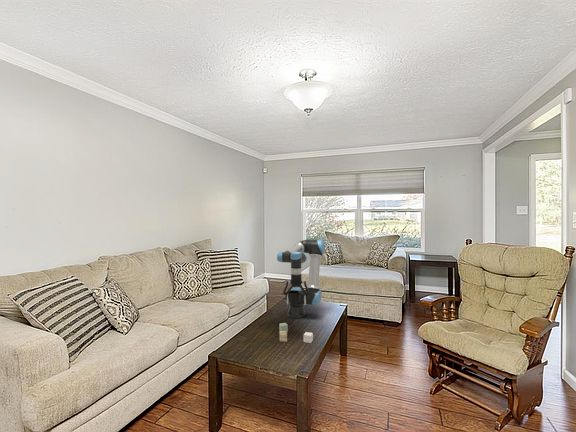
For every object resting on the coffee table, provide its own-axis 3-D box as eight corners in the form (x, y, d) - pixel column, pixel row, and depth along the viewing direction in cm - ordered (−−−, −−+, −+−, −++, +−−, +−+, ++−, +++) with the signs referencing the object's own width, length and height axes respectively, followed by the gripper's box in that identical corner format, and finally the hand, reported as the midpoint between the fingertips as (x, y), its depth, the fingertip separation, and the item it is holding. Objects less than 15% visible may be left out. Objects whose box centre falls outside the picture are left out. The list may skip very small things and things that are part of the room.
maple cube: (279, 338, 205) (279, 331, 205) (286, 338, 205) (286, 331, 205) (279, 341, 200) (279, 334, 200) (287, 341, 200) (287, 334, 200)
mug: (301, 308, 206) (301, 294, 206) (286, 305, 211) (286, 292, 211) (306, 304, 213) (306, 291, 213) (291, 302, 219) (291, 289, 219)
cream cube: (305, 339, 204) (305, 331, 204) (312, 340, 202) (312, 332, 202) (303, 342, 199) (303, 334, 199) (310, 343, 197) (310, 335, 197)
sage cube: (279, 330, 219) (279, 323, 219) (285, 329, 221) (285, 322, 221) (281, 332, 215) (281, 326, 215) (287, 332, 216) (287, 325, 216)
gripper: (278, 274, 210) (278, 305, 210) (312, 275, 207) (313, 306, 207) (280, 272, 217) (280, 302, 218) (313, 273, 214) (313, 303, 215)
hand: (296, 304), depth 212 cm, fingers closed on mug, 12 cm apart
